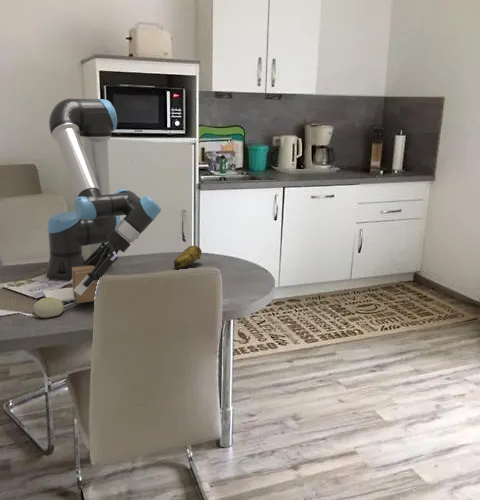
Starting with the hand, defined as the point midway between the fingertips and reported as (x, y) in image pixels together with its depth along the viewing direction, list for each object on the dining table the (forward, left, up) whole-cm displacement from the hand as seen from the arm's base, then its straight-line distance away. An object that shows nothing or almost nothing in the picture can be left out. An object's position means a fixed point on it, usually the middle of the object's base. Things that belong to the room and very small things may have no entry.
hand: (74, 288), depth 183 cm
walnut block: (+1, +3, -4) cm, 5 cm away
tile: (-9, +1, -6) cm, 11 cm away
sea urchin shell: (0, -9, -6) cm, 11 cm away
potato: (-8, +55, -6) cm, 56 cm away
